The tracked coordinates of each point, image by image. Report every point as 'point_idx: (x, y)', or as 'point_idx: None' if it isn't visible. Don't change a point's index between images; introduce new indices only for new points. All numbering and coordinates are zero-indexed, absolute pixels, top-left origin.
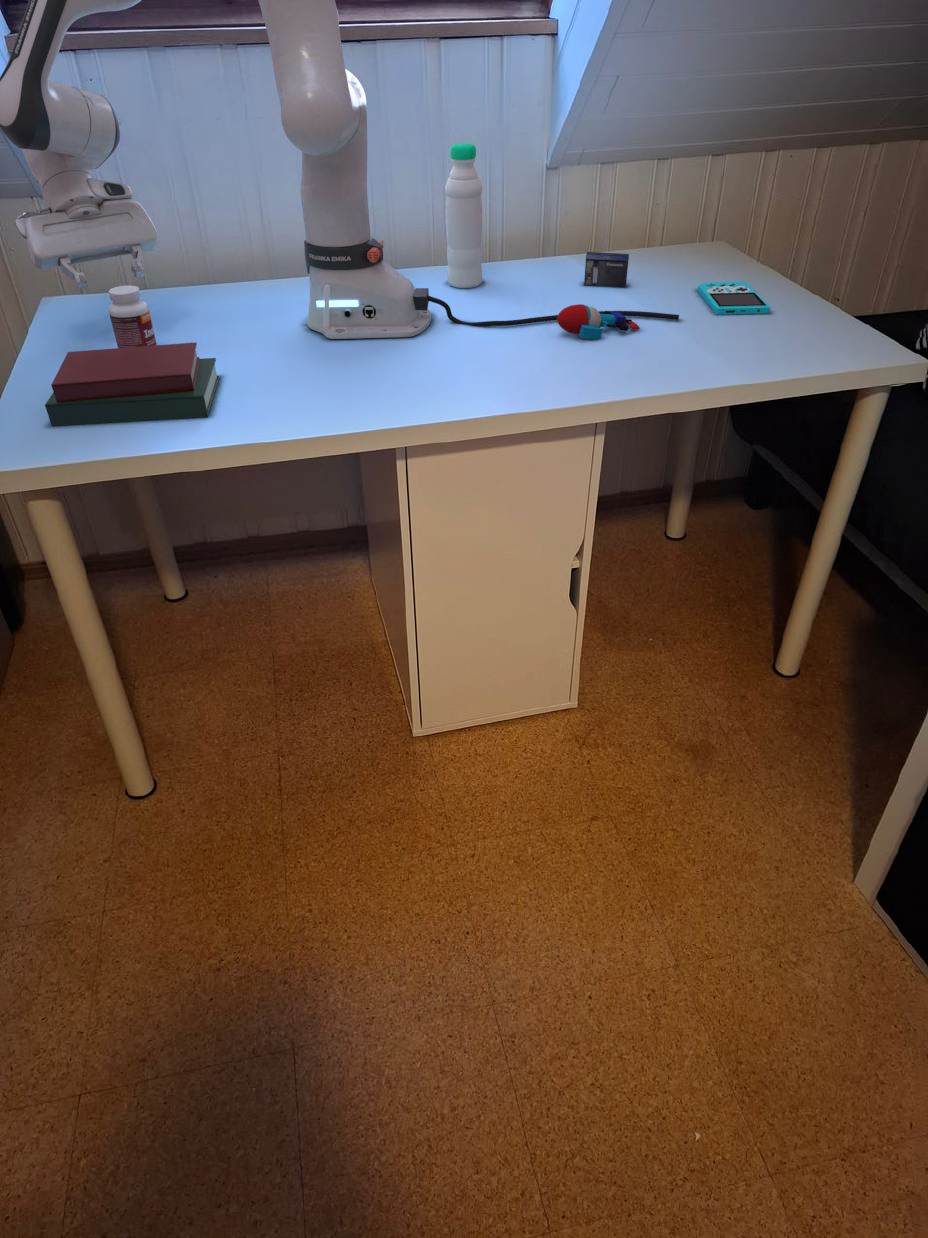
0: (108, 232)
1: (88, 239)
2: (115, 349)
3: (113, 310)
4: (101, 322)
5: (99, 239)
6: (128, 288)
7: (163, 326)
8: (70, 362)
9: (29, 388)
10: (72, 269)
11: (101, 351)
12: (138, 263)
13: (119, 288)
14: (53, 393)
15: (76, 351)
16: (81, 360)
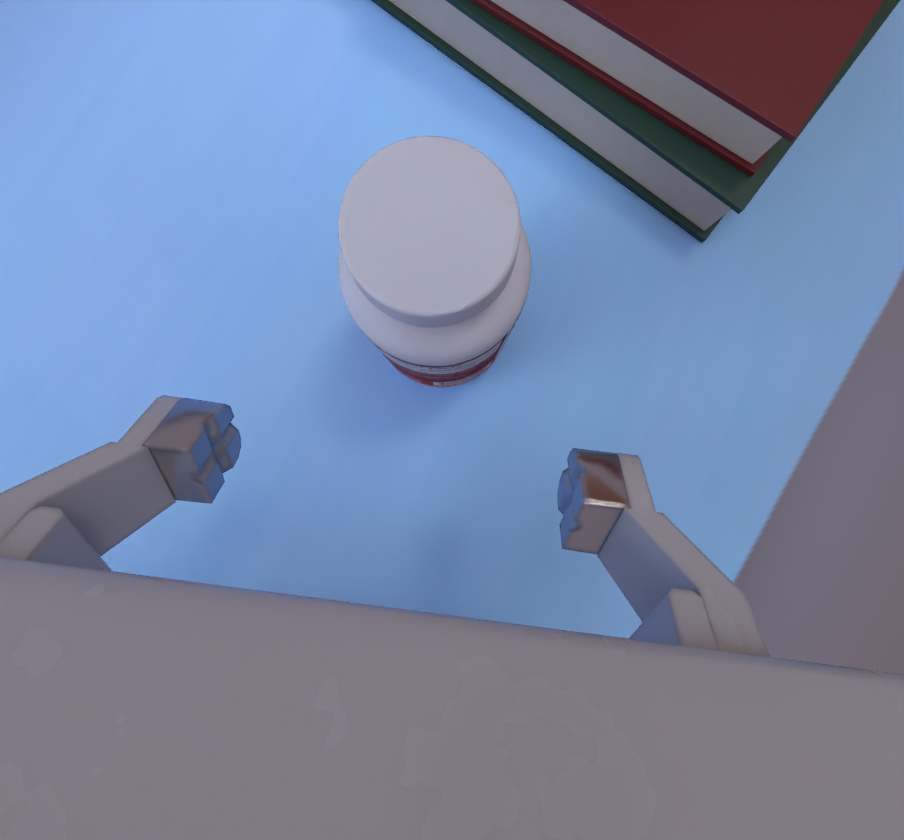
0: (66, 777)
1: (408, 752)
2: (640, 27)
3: (525, 236)
4: None
5: (276, 698)
6: (397, 225)
7: (230, 558)
8: (835, 16)
9: (823, 327)
10: (661, 535)
11: (692, 46)
12: (149, 432)
13: (437, 268)
14: (889, 7)
15: (768, 116)
16: (794, 7)
